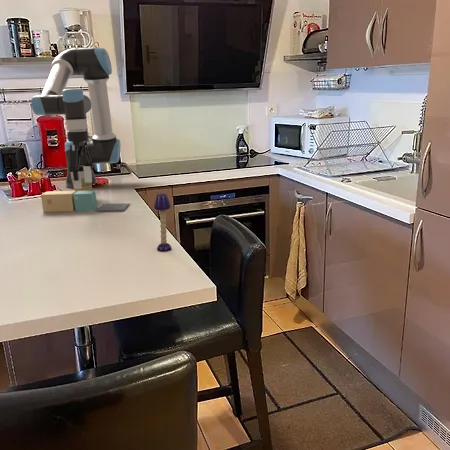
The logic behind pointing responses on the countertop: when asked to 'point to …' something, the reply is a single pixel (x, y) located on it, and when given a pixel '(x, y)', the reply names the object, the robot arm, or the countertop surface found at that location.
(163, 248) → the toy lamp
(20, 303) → the countertop surface
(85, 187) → the coffee cup
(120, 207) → the pad
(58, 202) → the tan cardboard box
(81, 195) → the teal cube
